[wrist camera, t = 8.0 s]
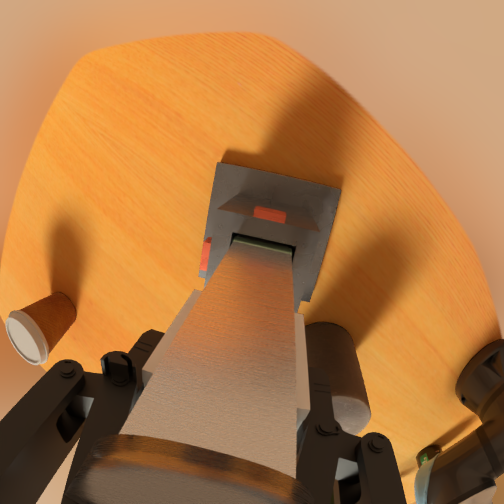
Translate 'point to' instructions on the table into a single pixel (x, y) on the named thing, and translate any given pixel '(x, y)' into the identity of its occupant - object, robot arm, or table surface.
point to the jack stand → (270, 219)
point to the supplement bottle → (428, 454)
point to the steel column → (214, 399)
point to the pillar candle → (339, 373)
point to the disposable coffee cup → (40, 327)
